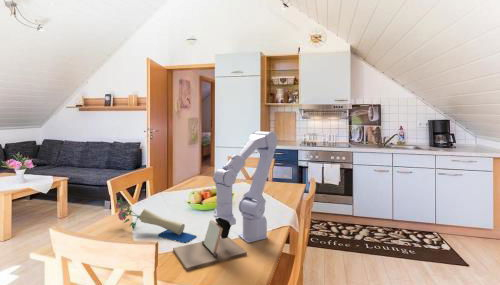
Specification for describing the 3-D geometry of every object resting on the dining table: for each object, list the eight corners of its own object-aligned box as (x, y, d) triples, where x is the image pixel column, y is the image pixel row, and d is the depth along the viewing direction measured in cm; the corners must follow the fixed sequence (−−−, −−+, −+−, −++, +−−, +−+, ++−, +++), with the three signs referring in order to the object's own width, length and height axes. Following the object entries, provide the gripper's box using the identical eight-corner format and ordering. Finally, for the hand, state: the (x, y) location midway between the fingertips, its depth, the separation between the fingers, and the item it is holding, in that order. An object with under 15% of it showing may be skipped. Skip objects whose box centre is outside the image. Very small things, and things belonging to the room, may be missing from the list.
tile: (212, 220, 109) (210, 220, 108) (222, 228, 101) (219, 228, 100) (206, 243, 108) (203, 243, 107) (215, 253, 100) (212, 253, 100)
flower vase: (173, 255, 118) (103, 227, 126) (188, 235, 128) (123, 211, 137) (173, 233, 113) (101, 206, 121) (189, 214, 123) (121, 191, 132)
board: (227, 238, 116) (227, 233, 116) (246, 254, 102) (246, 248, 102) (173, 250, 105) (172, 244, 105) (186, 270, 92) (186, 264, 91)
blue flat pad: (185, 242, 111) (157, 234, 118) (185, 245, 112) (157, 236, 118) (197, 235, 118) (169, 228, 125) (197, 238, 118) (169, 230, 125)
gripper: (206, 198, 110) (207, 232, 111) (222, 208, 97) (222, 247, 98) (223, 195, 113) (223, 229, 114) (241, 205, 101) (241, 243, 102)
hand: (224, 237), depth 107 cm, fingers closed
